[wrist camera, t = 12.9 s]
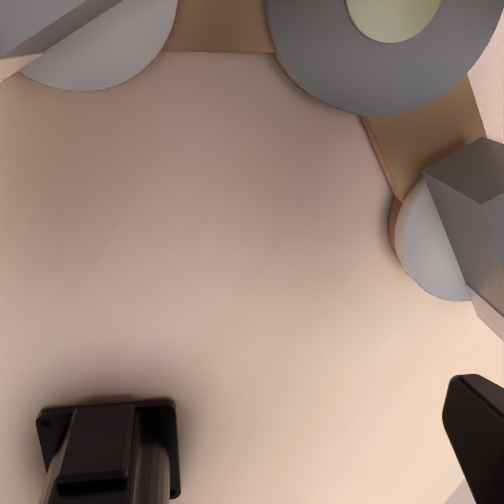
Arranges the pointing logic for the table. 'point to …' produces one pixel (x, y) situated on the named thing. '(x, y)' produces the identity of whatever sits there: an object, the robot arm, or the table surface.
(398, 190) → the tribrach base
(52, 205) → the table surface
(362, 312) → the table surface
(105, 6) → the knob
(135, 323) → the table surface
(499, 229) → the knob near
